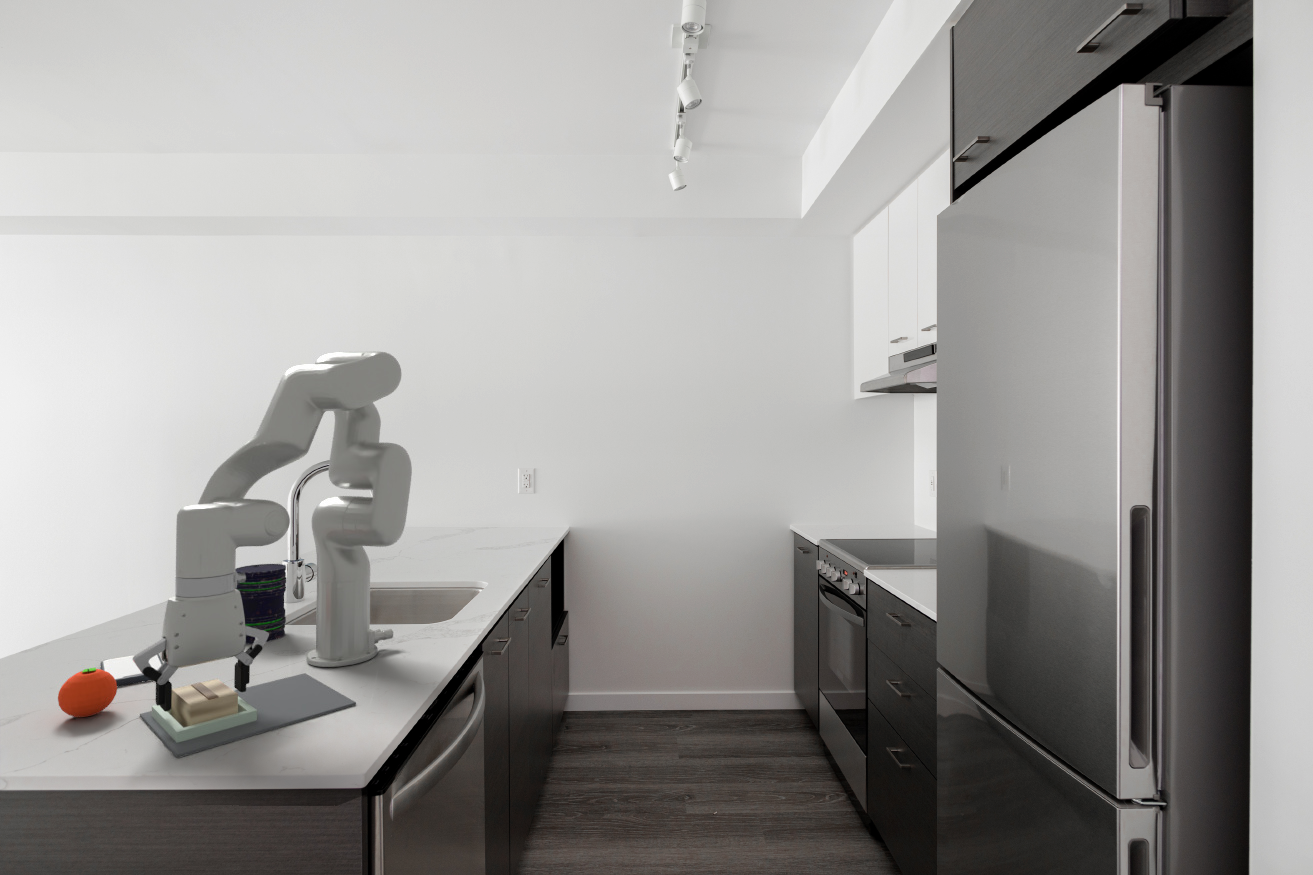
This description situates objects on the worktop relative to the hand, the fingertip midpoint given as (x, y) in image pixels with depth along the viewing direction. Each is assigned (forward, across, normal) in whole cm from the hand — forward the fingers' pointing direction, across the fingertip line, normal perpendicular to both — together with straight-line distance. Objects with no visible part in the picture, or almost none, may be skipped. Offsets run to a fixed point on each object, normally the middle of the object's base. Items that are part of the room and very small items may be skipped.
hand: (204, 698), depth 99 cm
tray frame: (+3, 0, 0) cm, 3 cm away
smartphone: (+4, +2, -34) cm, 35 cm away
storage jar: (+3, -21, -40) cm, 46 cm away
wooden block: (+3, 0, 0) cm, 3 cm away
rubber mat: (+3, -6, +1) cm, 7 cm away
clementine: (+4, +11, -16) cm, 20 cm away
